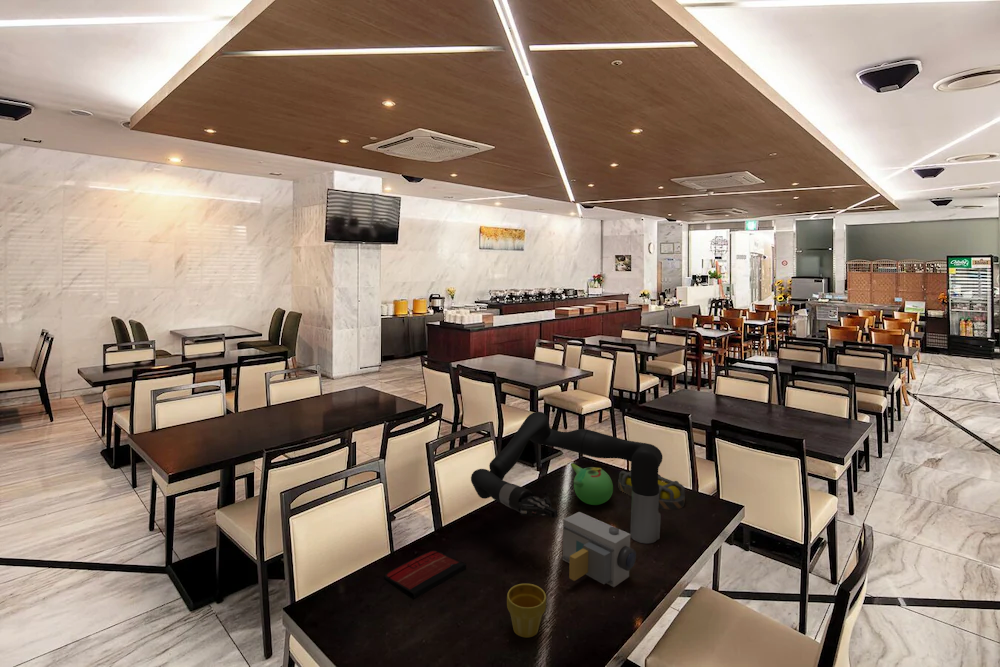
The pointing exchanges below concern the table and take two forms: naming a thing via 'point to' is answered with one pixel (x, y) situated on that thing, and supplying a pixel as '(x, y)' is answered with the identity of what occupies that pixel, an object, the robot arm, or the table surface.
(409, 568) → the binder
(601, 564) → the door
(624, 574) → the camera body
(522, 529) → the table surface
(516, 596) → the plant pot
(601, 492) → the toy bird
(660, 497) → the cage light
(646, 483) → the robot arm
